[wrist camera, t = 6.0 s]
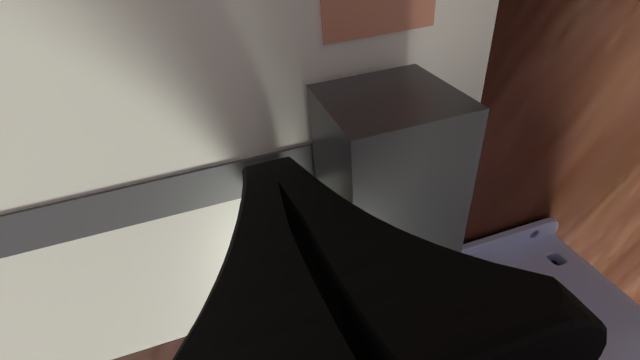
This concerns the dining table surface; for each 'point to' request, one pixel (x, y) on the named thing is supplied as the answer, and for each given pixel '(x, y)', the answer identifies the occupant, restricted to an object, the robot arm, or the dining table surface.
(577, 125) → the dining table surface
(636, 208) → the dining table surface
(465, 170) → the fader knob
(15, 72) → the fader panel
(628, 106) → the dining table surface
